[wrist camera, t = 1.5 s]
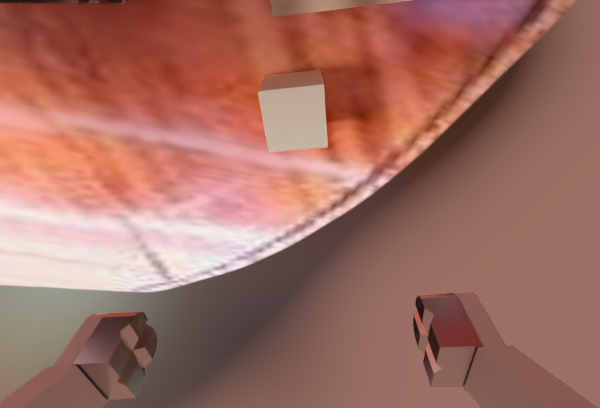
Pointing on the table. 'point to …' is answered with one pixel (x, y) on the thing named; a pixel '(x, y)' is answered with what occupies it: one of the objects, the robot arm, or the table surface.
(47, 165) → the table surface
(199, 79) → the table surface
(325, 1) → the tower base
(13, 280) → the table surface
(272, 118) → the cream block
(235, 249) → the table surface
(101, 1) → the coffee box
